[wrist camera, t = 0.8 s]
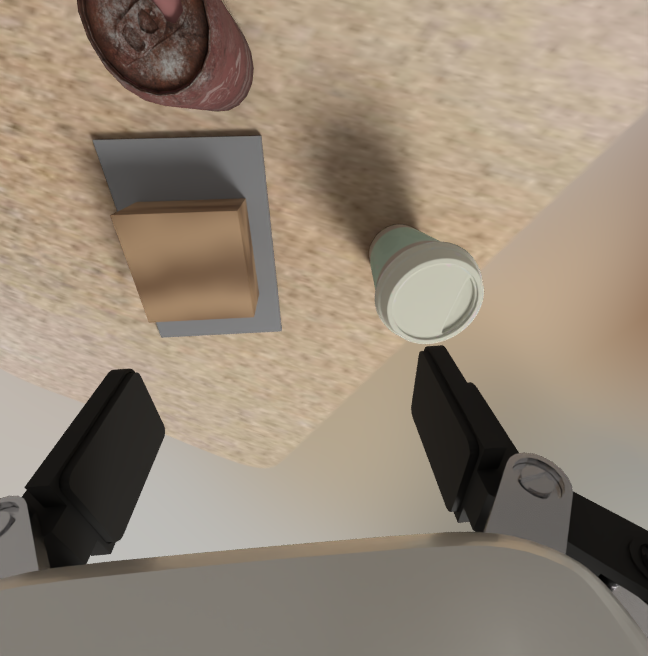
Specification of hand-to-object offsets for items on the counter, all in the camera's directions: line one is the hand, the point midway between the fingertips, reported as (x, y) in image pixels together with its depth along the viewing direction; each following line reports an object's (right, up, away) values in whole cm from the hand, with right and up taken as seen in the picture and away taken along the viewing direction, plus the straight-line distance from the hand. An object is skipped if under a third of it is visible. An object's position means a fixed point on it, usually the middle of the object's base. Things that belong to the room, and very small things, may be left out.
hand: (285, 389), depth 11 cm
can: (-7, +23, +15) cm, 28 cm away
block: (-11, +10, +22) cm, 26 cm away
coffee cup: (+9, +10, +24) cm, 28 cm away
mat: (-11, +10, +22) cm, 27 cm away
